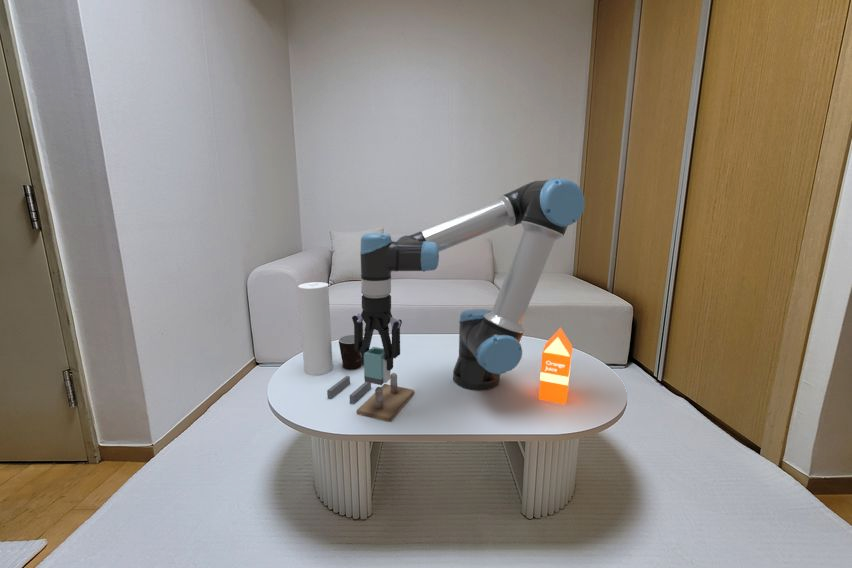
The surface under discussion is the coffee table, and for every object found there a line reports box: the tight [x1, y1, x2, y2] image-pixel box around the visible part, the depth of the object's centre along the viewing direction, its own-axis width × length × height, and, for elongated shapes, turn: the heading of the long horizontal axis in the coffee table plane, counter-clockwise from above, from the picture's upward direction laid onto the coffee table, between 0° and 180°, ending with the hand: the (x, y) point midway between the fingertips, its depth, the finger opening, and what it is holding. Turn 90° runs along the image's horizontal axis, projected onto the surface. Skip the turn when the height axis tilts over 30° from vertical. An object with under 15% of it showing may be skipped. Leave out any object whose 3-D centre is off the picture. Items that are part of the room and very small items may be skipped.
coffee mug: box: [338, 334, 364, 371], centre depth 128 cm, size 12×9×10 cm
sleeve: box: [363, 346, 386, 386], centre depth 99 cm, size 5×5×8 cm
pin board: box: [356, 372, 415, 423], centre depth 106 cm, size 10×16×7 cm, turn 158°
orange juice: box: [538, 327, 573, 405], centre depth 109 cm, size 8×9×20 cm
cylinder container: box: [297, 281, 334, 376], centre depth 125 cm, size 9×9×30 cm
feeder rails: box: [326, 375, 372, 405], centre depth 112 cm, size 9×10×2 cm
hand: (377, 378), depth 100 cm, fingers closed on sleeve, 5 cm apart
